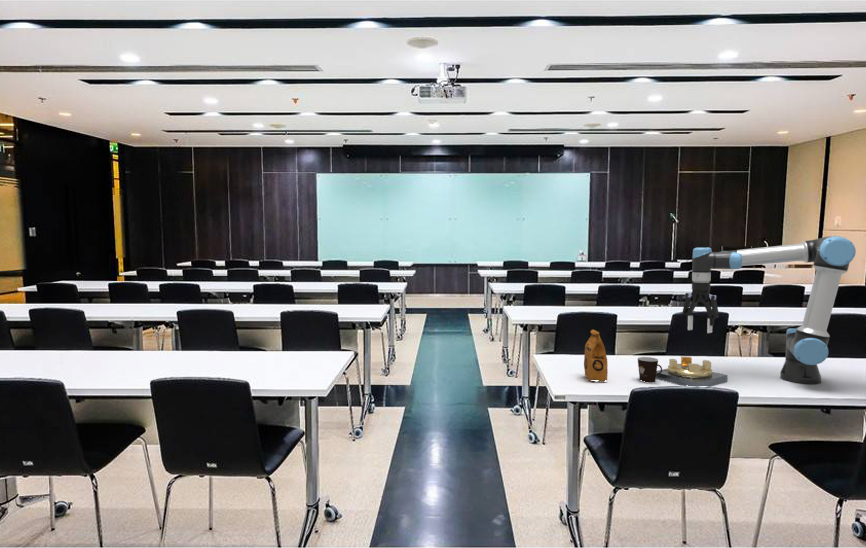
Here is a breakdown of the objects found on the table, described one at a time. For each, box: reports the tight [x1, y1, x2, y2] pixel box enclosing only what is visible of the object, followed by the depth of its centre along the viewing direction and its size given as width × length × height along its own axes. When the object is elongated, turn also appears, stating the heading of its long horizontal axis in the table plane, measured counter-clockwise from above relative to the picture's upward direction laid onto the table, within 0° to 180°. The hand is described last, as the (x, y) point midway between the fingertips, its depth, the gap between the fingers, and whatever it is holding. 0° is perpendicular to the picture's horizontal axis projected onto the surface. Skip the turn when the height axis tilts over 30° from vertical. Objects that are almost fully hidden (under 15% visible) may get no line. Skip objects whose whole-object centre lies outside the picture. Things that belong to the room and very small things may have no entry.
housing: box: [655, 367, 729, 387], centre depth 242 cm, size 22×22×3 cm
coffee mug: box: [637, 356, 663, 383], centre depth 239 cm, size 12×9×10 cm
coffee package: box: [583, 329, 609, 381], centre depth 244 cm, size 10×12×22 cm
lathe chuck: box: [667, 356, 713, 378], centre depth 241 cm, size 18×18×6 cm
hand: (699, 331), depth 244 cm, fingers open, 9 cm apart
